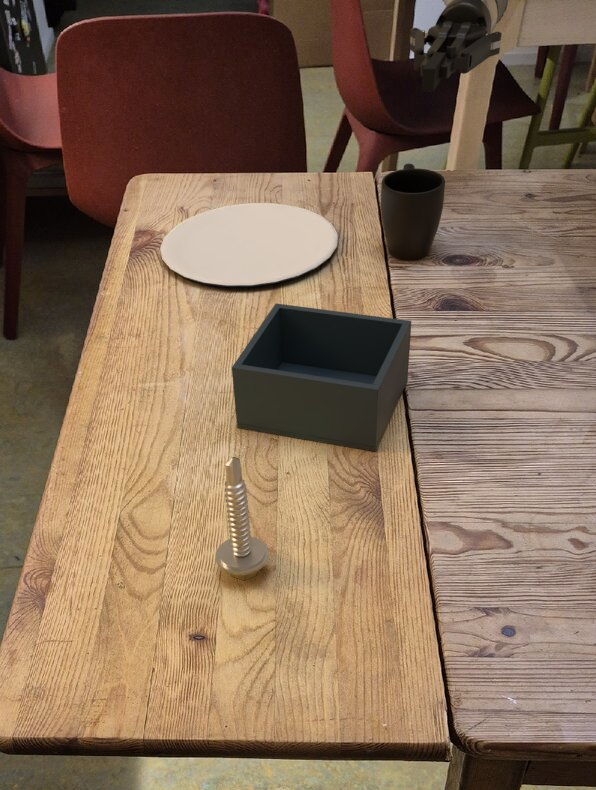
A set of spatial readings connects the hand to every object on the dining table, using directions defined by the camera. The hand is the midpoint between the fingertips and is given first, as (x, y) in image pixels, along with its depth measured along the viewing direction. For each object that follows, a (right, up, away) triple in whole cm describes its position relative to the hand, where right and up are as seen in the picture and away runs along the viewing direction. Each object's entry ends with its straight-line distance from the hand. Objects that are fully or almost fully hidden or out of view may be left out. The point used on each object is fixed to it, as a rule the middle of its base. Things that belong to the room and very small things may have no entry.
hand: (428, 80), depth 119 cm
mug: (-1, -18, +10) cm, 20 cm away
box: (-14, -45, -16) cm, 50 cm away
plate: (-23, -17, +12) cm, 31 cm away
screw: (-23, -64, -33) cm, 76 cm away
